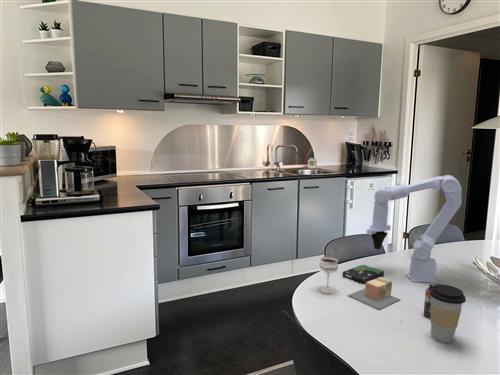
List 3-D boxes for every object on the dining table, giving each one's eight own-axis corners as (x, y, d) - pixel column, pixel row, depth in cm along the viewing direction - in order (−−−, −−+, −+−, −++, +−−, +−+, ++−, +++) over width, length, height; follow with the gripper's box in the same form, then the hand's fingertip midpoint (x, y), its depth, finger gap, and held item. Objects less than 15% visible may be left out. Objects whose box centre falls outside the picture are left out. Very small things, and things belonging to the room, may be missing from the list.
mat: (369, 287, 145) (369, 286, 145) (400, 300, 135) (400, 299, 135) (347, 296, 137) (347, 295, 137) (379, 310, 127) (379, 309, 127)
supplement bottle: (441, 313, 126) (445, 281, 124) (444, 322, 120) (448, 289, 119) (422, 310, 128) (425, 279, 126) (424, 318, 122) (427, 285, 120)
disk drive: (363, 286, 148) (383, 277, 157) (364, 280, 147) (384, 270, 157) (341, 278, 155) (362, 269, 165) (342, 271, 155) (362, 263, 164)
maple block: (380, 277, 142) (365, 282, 136) (392, 281, 138) (377, 287, 133) (379, 289, 143) (364, 295, 137) (390, 294, 139) (376, 300, 133)
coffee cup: (418, 329, 116) (423, 283, 113) (447, 328, 116) (453, 283, 114) (436, 347, 106) (442, 297, 104) (467, 346, 107) (474, 296, 105)
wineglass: (336, 295, 138) (338, 263, 136) (317, 292, 139) (319, 262, 137) (336, 287, 145) (338, 257, 143) (318, 285, 146) (320, 255, 144)
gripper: (381, 213, 165) (378, 243, 167) (361, 217, 156) (359, 249, 158) (396, 216, 160) (393, 247, 162) (376, 221, 151) (373, 253, 153)
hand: (377, 248), depth 160 cm, fingers closed
